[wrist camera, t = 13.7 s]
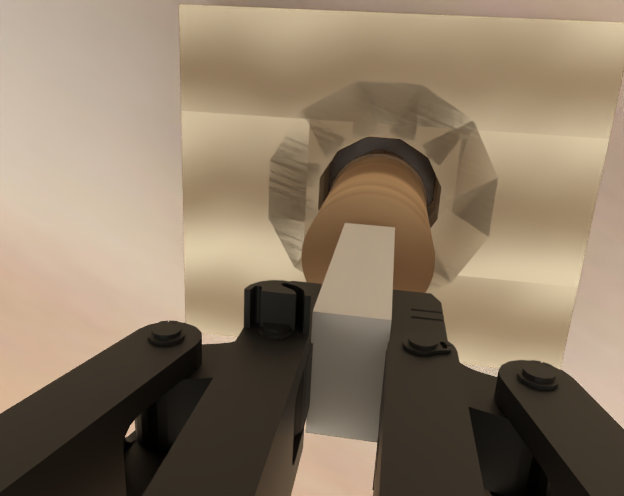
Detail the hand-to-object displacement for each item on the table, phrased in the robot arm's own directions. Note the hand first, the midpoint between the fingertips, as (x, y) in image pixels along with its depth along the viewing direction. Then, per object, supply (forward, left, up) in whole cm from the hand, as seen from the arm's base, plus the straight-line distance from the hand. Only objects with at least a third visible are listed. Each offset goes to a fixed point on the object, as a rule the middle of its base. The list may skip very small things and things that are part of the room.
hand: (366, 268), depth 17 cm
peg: (0, 0, -14) cm, 14 cm away
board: (0, 0, -14) cm, 14 cm away
